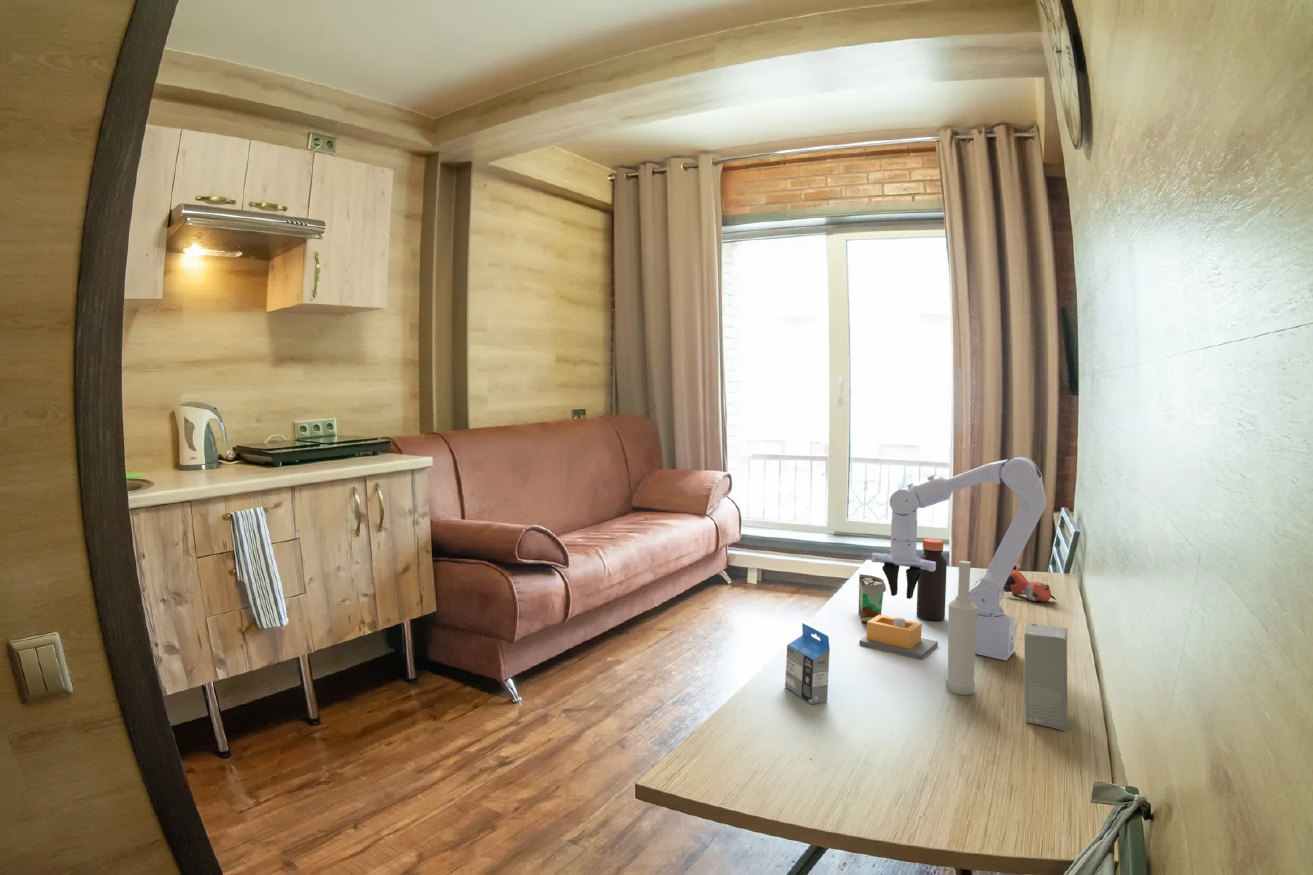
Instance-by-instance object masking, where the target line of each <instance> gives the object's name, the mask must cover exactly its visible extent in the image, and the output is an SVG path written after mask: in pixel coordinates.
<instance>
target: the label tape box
mask: <svg viewBox="0 0 1313 875" xmlns="http://www.w3.org/2000/svg"><path fill="white" fill-rule="evenodd" d="M812 635H814V636H815V635H816V637H817V638H819V639H817V638H816V637H813V636H812ZM785 662H786V663H785V664H786V665H785V678H784V680H785V681H784V687H785V688H786V689H788V690H790V691H791V692H793V693H794V694H796V695H798V696H799V697H800V698H802V699H804V700H805V701H807V702H808V703H810V704H811V705H816V704H821V703H820V702H823V703H826V702H828V691H829V688H828V686H829V668H830V667H829V666H830V638H829V635H827V634H826V633H823V632H821V631H820V630H817V629H816V628H814V627H812V626H810V625H807V624H805V623H802V635H801V636H798V637H797V638H796V639H795V640H793V641H791V642H789V643H788V644H787V645H786V661H785Z"/></svg>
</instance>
